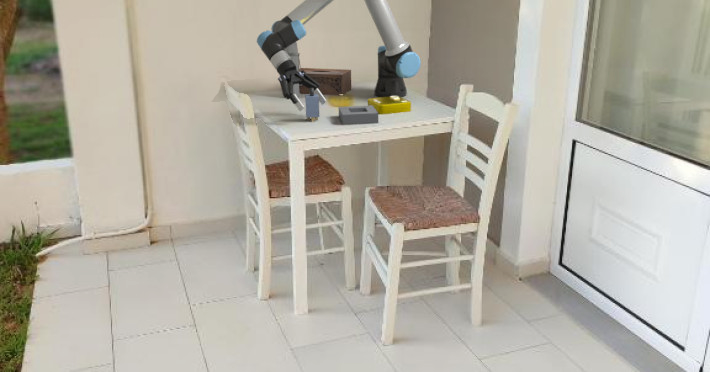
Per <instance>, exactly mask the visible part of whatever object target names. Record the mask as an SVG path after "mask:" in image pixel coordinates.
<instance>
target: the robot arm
mask: <svg viewBox="0 0 710 372" xmlns="http://www.w3.org/2000/svg"><path fill="white" fill-rule="evenodd" d="M334 1H335V0H303V2H301V3H300V4H299V5H297V7H295V8H294V9H293V10H291V11H290V12H289V13H288V14H286V15H285V16H284V17H283V18H281V20H277V21H275V22H274V23H273V24H272V25H271V28H270V29H271V30H266V31H263V32H261V33H260V34H259V35H258V36H257V39H256V43H257V45H258V46H259V48H260V49H261V50H260V51H262V53H264V55H265V56H266V58H267V59H268V61H269V62H270V63H271V65H272V66H273V67H274V69H275V70H276V72H277V73H278V75H279V76H278V78H277V81H278V82H279V84H280V88H281V91H282V92H281V93H282V96H283V98H284V99H285V98H286V97H287V98H286V99H287V100H290V101H291V103H292V104H293V105H295V107H296V108H297V110H298V111H299V112H302V111H303V109H304V108H305V106H304V104H303V103H302V101H301V100H300V99H299V97H297V96H296V94H294V95H293V85H294V84H302V85H304V86H305V87H307V88H309V89H310V88H314V94H318V96H319V104H321V106H324V105H325V104H326V102H327V99H326V98H325V95H323V94H322V93H321V91H320V90H319V87H320V86H321V85H320V84H319V83H318V82H316V81H315V80H314V79H312V78H311V77H310V76H309V75H307V74H306V73H305V71H304V70H302V71H301V72H298V71H297V70H296V65H295V64H294V62H293V61H292V60H291V58H290V57H289V55H288V54H287V53H286V51H285V50H284V49H285V48H287V47H288V46H290V45H292V44H293V43H295V42H297V43H298V41H301V39H303V38H304V37H305V36H306V35H307V31H306V28H305V24H306V23H308V22H309V21H310V20H312V19H313V18H314V17H315V16H317V15H318V14H319V13H320V12H321V11H322V10H324V9H325V8H326V7H328V6H329V5H330V4H331V3H332V2H334ZM364 2H365V5H366V7H367V9H368V12H369V14H370V16H371V18H372V21H373V23H374V25H375V27H376V29H377V32H378V34H379V36H380V38H381V41H382V43H383V45H380V46H378V49H377V80H376V84H375V86H374V87H375V88H374V91H373V92H374V96H376V97H377V98H379V97H389V96H399V97H401V98H403V97H405V96H407V94H408V92H407V90H408V89H407V87H406V84H405V80H404V79H410V78H414V77H415V76H416V75H417V74H418V73H419V71H420V68H421V63H422V62H421V58H420V56H419V55H418V54H417V53H416V52H414V51H413V49H412V46H411V44H410V42H408V41H406V40H405V39H404V37H403V34H402V32H401V30H400V27H399V26H398V23H397V21H396V19H395V16H394V13H393V12H392V10H391V8H390V4H389V3H388V1H387V0H364ZM300 80H301V81H300ZM286 81H287V83H286ZM287 86H288V87H287Z"/></svg>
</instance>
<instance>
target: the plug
mask: <svg viewBox="0 0 710 372" xmlns="http://www.w3.org/2000/svg"><path fill="white" fill-rule="evenodd" d="M304 96H305V97H304V100H305V101H304V103H305V116H306V120H307V121H311V122H312V123H314V122H316V120H319V118H320V102H319V96H318V94H314V88H310V94H304Z"/></svg>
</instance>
